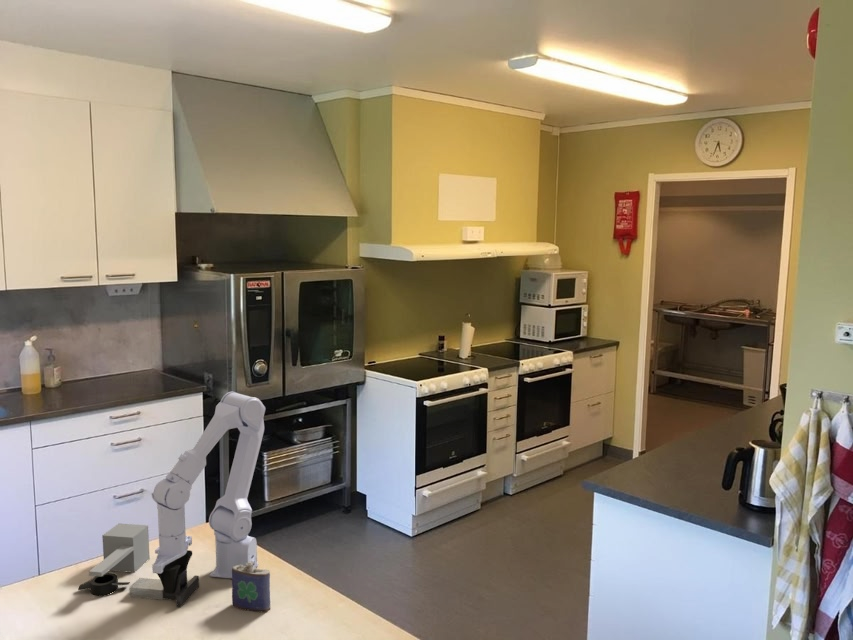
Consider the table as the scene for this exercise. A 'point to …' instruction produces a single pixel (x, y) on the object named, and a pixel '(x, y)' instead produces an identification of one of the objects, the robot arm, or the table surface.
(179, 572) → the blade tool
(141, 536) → the grey cube mallet
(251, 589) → the flask
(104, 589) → the black ring with tabs
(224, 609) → the table surface
